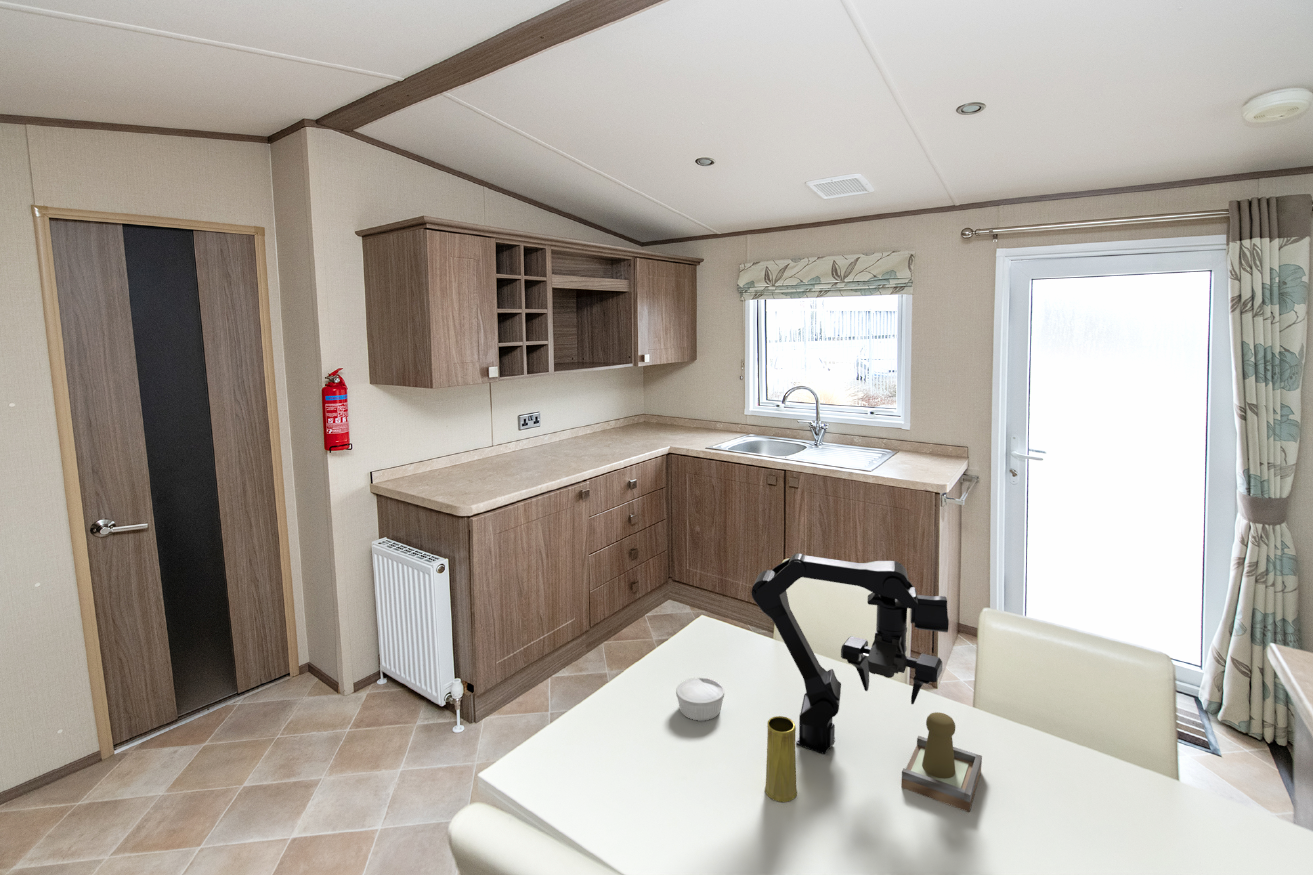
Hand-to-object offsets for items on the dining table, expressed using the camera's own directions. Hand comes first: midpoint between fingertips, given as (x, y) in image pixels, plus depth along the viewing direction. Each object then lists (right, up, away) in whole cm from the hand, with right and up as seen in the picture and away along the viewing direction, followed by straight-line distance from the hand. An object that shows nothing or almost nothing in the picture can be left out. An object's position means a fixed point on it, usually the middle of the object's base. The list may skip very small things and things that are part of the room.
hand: (889, 696), depth 132 cm
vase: (-24, -15, -8) cm, 29 cm away
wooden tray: (+8, -14, -6) cm, 17 cm away
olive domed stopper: (+8, -12, -6) cm, 15 cm away
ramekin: (-37, -11, +20) cm, 44 cm away
